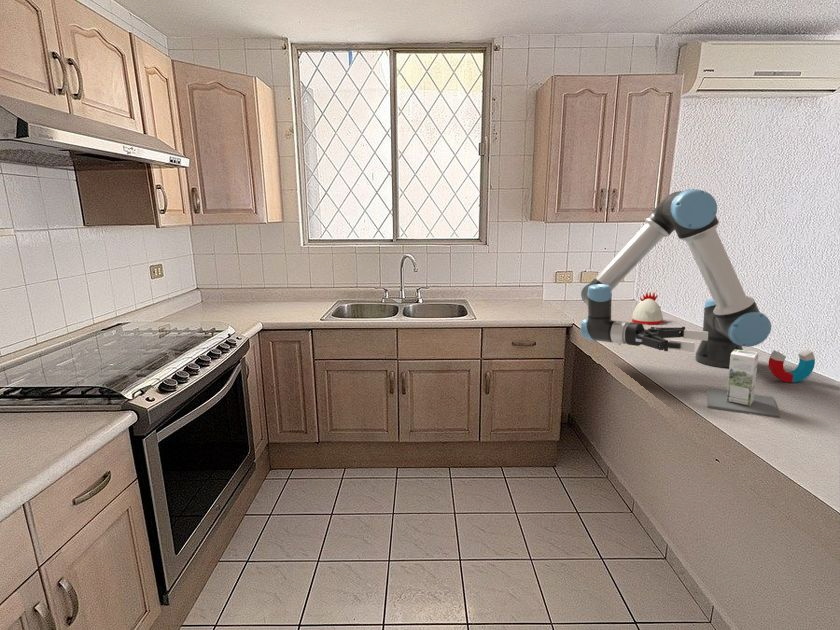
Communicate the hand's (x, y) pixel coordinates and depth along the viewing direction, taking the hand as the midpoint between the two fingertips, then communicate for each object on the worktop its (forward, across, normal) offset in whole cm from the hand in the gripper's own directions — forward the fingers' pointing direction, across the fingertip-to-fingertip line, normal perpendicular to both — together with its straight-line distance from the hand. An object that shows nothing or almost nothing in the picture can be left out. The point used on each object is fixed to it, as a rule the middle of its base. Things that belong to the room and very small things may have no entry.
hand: (701, 341), depth 135 cm
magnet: (+18, -26, -17) cm, 36 cm away
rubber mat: (+11, +2, -16) cm, 20 cm away
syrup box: (+11, +2, -16) cm, 19 cm away
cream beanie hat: (-46, -85, -17) cm, 98 cm away
